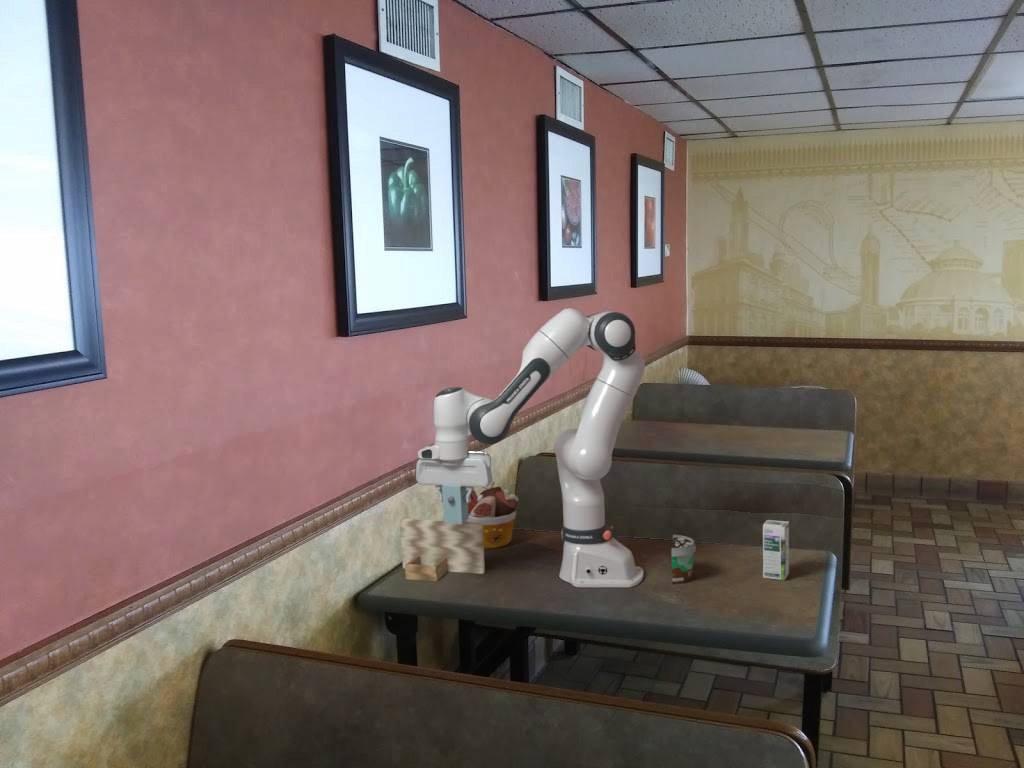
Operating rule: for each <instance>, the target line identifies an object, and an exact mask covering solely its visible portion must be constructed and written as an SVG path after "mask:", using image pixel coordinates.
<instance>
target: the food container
mask: <svg viewBox="0 0 1024 768" xmlns="http://www.w3.org/2000/svg"><path fill="white" fill-rule="evenodd" d="M696 550H697V547H696V543H695V541H694V539H693V538H691V537H688V536H685V535H679V534H672V547H671V576H672V577H671V581H672V583H671V585H679V584H680V585H681V584H685V583H689V582H691V581H692V580H693V568H694V567H693V565H694V553H695V552H696Z"/></svg>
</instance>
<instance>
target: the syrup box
mask: <svg viewBox="0 0 1024 768" xmlns="http://www.w3.org/2000/svg"><path fill="white" fill-rule="evenodd" d="M762 561H763V563H762V567H763V568H762V576H763V577H762V578H763V579H769V580H770V579H771V580H779V581H785V580H786V579H787V577H788V575H789V573H790V521H788V520H787V521H784V520H774V519H773V520H772V519H767V520H766V521H765V522H764V523H763V524H762Z"/></svg>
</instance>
